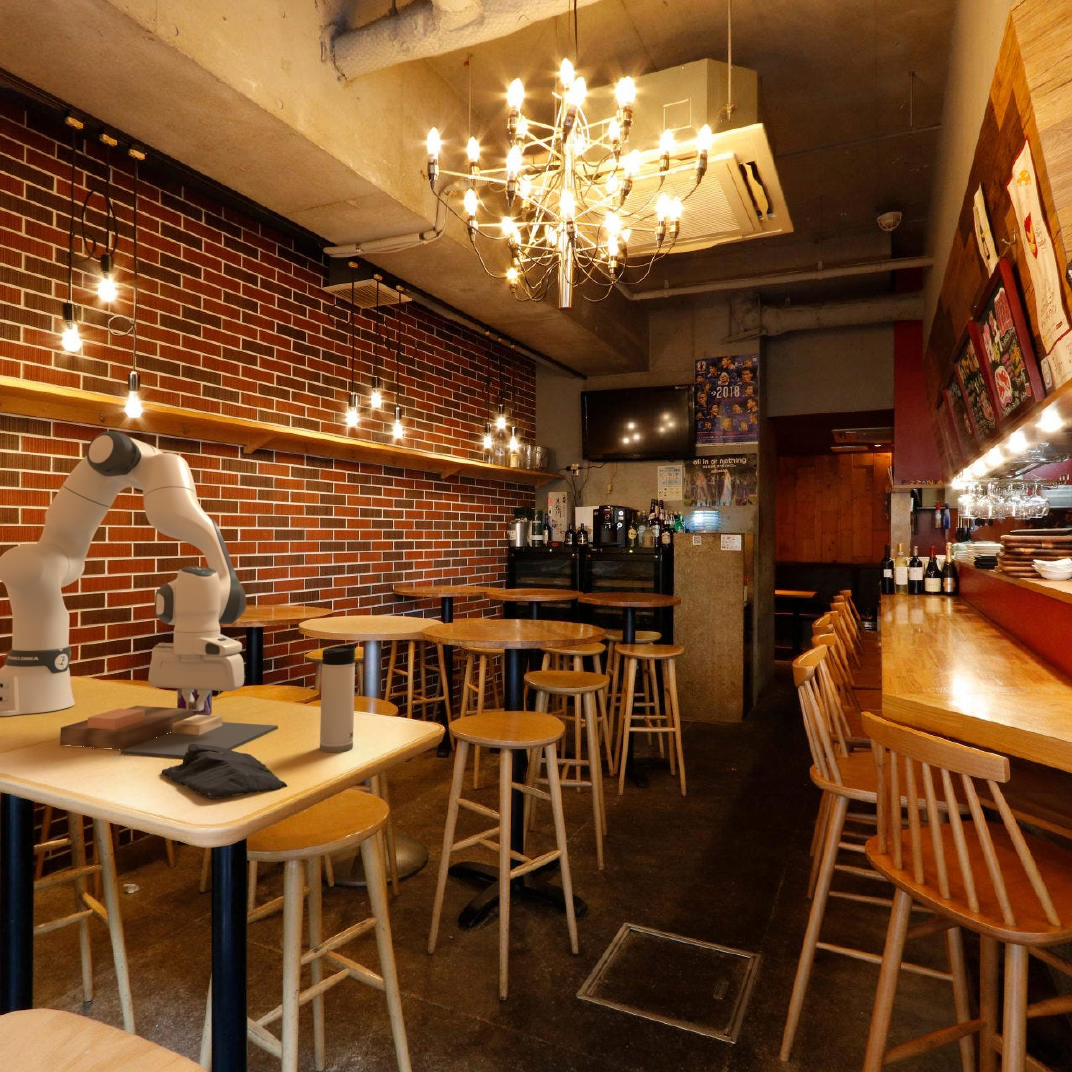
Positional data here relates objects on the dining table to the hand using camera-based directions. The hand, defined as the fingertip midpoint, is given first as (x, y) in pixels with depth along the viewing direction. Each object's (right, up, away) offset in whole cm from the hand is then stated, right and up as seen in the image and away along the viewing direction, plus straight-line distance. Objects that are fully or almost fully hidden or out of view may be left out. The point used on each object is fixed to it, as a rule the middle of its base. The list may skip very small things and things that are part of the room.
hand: (195, 710), depth 148 cm
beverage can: (-6, -5, +12) cm, 14 cm away
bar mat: (+5, -5, -6) cm, 9 cm away
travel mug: (+33, -5, -10) cm, 35 cm away
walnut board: (-12, -4, -3) cm, 13 cm away
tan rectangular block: (+1, -4, 0) cm, 4 cm away
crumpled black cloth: (+19, -5, -30) cm, 36 cm away
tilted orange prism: (-12, -1, -8) cm, 14 cm away
